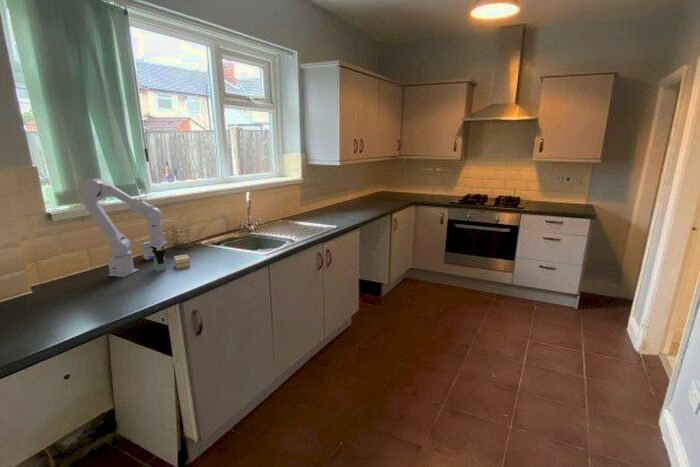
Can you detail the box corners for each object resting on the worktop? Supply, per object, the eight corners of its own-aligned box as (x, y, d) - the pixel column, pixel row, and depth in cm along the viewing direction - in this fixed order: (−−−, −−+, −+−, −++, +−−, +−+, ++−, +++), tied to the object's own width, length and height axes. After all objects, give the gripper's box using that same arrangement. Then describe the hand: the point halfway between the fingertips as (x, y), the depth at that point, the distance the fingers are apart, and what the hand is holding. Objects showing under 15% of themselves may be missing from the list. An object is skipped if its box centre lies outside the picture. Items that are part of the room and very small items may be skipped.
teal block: (166, 269, 176) (165, 258, 174) (156, 271, 174) (154, 260, 172) (165, 267, 180) (164, 256, 178) (155, 268, 177) (153, 257, 176)
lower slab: (190, 267, 180) (189, 262, 180) (176, 269, 177) (176, 264, 177) (188, 263, 185) (187, 259, 185) (175, 265, 182) (174, 261, 182)
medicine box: (147, 260, 189) (145, 244, 187) (143, 258, 192) (141, 242, 190) (162, 256, 195) (160, 240, 193) (158, 255, 198) (156, 239, 196)
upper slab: (189, 262, 179) (189, 257, 179) (176, 264, 176) (175, 259, 176) (187, 259, 184) (187, 254, 184) (174, 261, 181) (173, 256, 181)
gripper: (167, 235, 168) (171, 264, 172) (164, 229, 180) (167, 255, 184) (149, 238, 165) (154, 266, 168) (147, 231, 177) (151, 258, 180)
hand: (160, 261), depth 176 cm, fingers open, 7 cm apart
